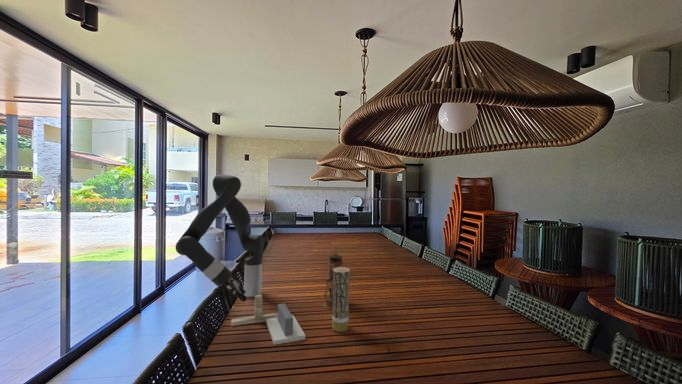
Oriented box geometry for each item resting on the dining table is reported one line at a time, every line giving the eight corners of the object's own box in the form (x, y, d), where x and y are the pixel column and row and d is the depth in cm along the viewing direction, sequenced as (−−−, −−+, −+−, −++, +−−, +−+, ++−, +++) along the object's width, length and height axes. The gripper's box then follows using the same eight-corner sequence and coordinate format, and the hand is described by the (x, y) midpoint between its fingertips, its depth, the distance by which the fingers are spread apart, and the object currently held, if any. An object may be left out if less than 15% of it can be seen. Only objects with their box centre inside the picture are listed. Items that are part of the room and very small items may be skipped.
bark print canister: (346, 333, 113) (348, 271, 113) (330, 331, 114) (331, 270, 115) (349, 326, 119) (350, 267, 120) (334, 324, 121) (335, 266, 121)
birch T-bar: (231, 323, 120) (231, 298, 120) (282, 316, 129) (282, 292, 129) (231, 326, 117) (232, 300, 118) (283, 319, 126) (284, 294, 126)
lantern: (345, 313, 133) (346, 250, 134) (319, 310, 136) (320, 248, 136) (350, 300, 150) (351, 244, 151) (327, 298, 152) (328, 243, 153)
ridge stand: (266, 322, 121) (266, 303, 122) (293, 318, 126) (293, 300, 126) (273, 344, 103) (274, 323, 103) (305, 339, 108) (305, 318, 108)
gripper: (224, 269, 111) (253, 295, 116) (224, 261, 125) (250, 285, 129) (208, 284, 109) (239, 309, 113) (210, 274, 122) (237, 298, 126)
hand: (244, 296), depth 121 cm, fingers open, 8 cm apart
